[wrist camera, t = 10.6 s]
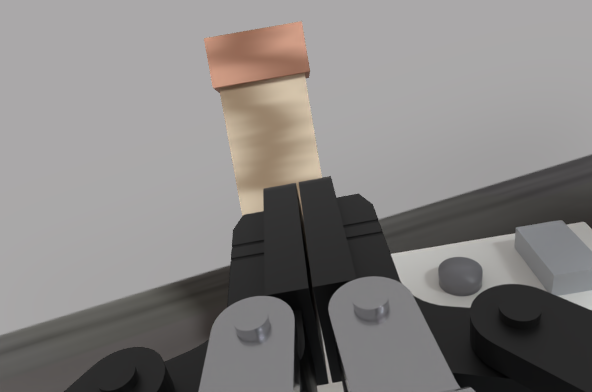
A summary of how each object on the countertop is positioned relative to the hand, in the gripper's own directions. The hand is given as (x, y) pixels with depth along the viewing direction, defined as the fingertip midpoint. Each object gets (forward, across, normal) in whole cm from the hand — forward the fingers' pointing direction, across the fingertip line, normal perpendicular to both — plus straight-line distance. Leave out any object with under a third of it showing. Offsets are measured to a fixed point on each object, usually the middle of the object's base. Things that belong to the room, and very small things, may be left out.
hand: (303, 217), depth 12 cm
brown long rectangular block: (+15, +2, +15) cm, 21 cm away
